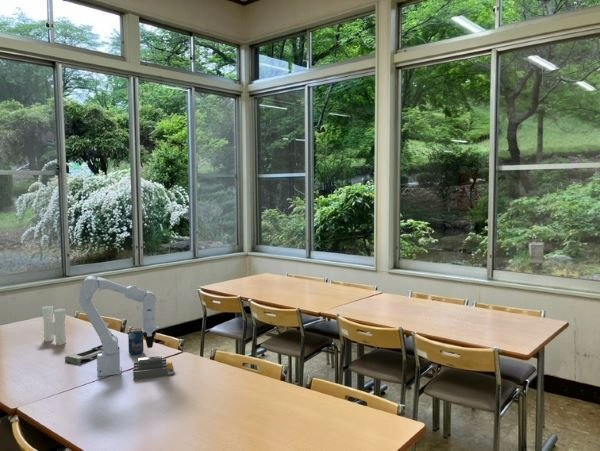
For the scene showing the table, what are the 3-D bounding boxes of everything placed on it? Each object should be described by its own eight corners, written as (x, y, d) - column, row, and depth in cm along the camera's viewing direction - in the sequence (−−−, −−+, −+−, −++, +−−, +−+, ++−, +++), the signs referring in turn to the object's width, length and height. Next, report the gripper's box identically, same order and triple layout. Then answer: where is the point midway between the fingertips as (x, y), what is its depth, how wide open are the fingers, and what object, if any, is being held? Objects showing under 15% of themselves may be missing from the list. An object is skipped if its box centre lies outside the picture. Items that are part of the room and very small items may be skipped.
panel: (138, 372, 206) (138, 360, 205) (138, 370, 208) (138, 358, 206) (162, 369, 209) (162, 357, 208) (162, 368, 211) (162, 355, 209)
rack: (133, 380, 200) (133, 370, 200) (134, 369, 212) (133, 361, 212) (173, 375, 206) (173, 366, 205) (172, 365, 217) (171, 357, 217)
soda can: (134, 357, 229) (133, 332, 228) (125, 354, 233) (125, 330, 232) (146, 353, 234) (145, 329, 233) (138, 350, 238) (137, 327, 238)
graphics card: (64, 356, 222) (107, 341, 244) (64, 363, 222) (107, 347, 245) (79, 359, 218) (121, 344, 240) (79, 366, 218) (121, 350, 240)
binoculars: (41, 340, 256) (40, 307, 255) (51, 337, 261) (50, 305, 260) (58, 345, 247) (57, 311, 246) (68, 342, 251) (67, 309, 250)
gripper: (158, 321, 208) (159, 351, 209) (158, 313, 222) (158, 341, 223) (141, 322, 206) (142, 353, 207) (142, 314, 220) (143, 343, 221)
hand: (149, 347), depth 215 cm, fingers closed
